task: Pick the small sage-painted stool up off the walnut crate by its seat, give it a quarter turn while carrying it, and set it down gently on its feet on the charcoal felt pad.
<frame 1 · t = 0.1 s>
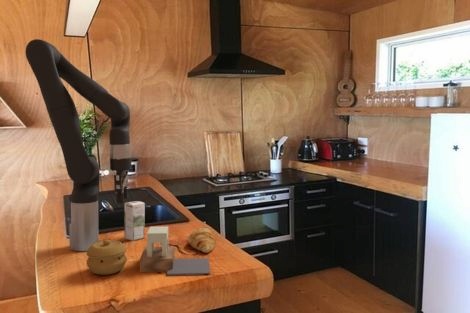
hand: (122, 201, 142), 17 cm above the countertop, tool pointing down, fingers open, 8 cm apart
felt pad: (189, 267, 124), on the countertop
croissant: (201, 246, 146), on the countertop
pot: (107, 272, 119), on the countertop
stool: (158, 252, 125), point 4 cm above the countertop, touching crate
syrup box: (134, 238, 154), on the countertop
crate: (158, 264, 126), on the countertop
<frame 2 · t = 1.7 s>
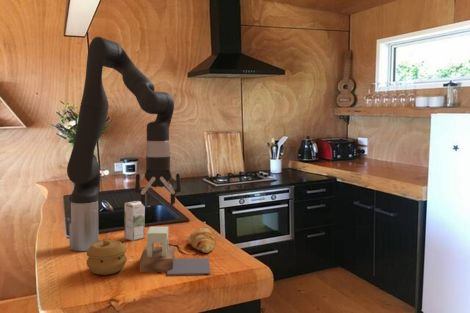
hand: (158, 205, 124), 19 cm above the countertop, tool pointing down, fingers open, 8 cm apart
nothing on the countertop moved.
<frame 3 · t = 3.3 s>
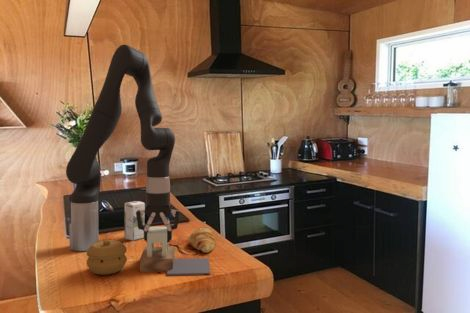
hand: (158, 241, 125), 8 cm above the countertop, tool pointing down, fingers closed on stool, 6 cm apart
stool: (158, 252, 125), point 4 cm above the countertop, touching crate, gripper
everything else where it was.
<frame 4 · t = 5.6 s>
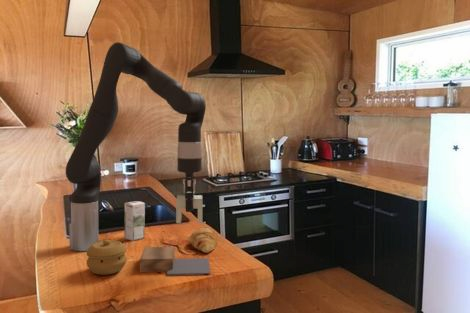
hand: (189, 209, 122), 19 cm above the countertop, tool pointing down, fingers closed on stool, 6 cm apart
stool: (189, 220, 123), point 15 cm above the countertop, touching gripper
everything else where it was.
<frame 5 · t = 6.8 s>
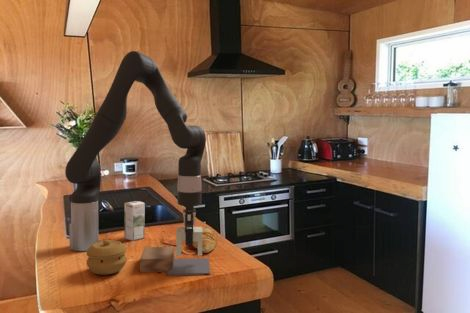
hand: (189, 241, 123), 8 cm above the countertop, tool pointing down, fingers closed on stool, 6 cm apart
stool: (189, 252, 123), point 5 cm above the countertop, touching gripper
everything else where it was.
when the fingers open (5 cm above the countertop, at t = 7.9 s): stool stays where it is, resting on felt pad.
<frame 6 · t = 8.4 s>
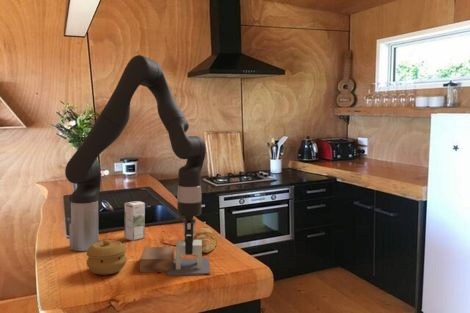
hand: (189, 249, 123), 6 cm above the countertop, tool pointing down, fingers open, 8 cm apart
stool: (189, 265, 124), point 1 cm above the countertop, touching felt pad
everything else where it was.
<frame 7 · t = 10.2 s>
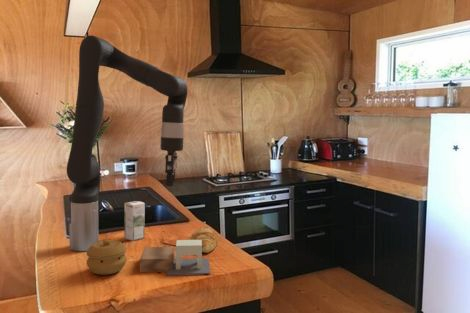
hand: (170, 184, 131), 25 cm above the countertop, tool pointing down, fingers open, 8 cm apart
nothing on the countertop moved.
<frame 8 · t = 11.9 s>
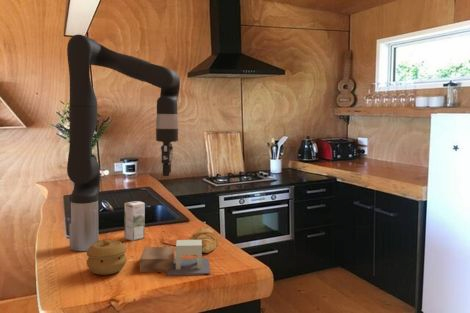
hand: (166, 174, 135), 28 cm above the countertop, tool pointing down, fingers open, 8 cm apart
nothing on the countertop moved.
at the end: stool inside the target area on the felt pad (0.1 cm from its centre), point 0.6 cm above the felt pad's base; stool tilted 0°; the gripper is holding nothing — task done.
